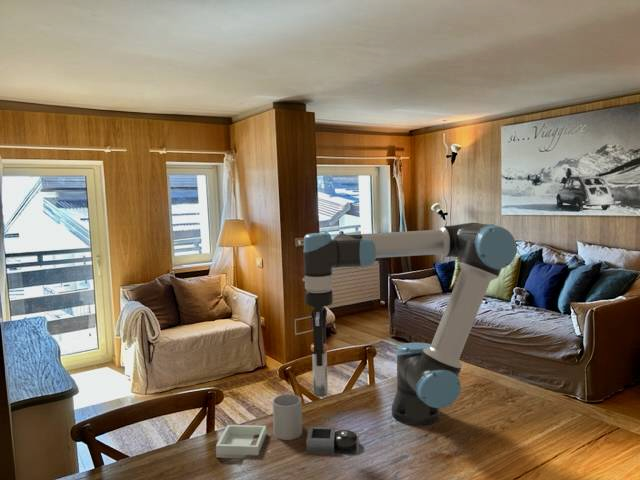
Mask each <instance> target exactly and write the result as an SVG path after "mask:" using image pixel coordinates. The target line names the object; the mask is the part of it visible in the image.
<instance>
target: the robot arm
mask: <svg viewBox="0 0 640 480" xmlns="http://www.w3.org/2000/svg"><path fill="white" fill-rule="evenodd" d="M302 251H303V252H302V253H303V271H304V277H303V278H302V281H303V282H304V289H305V292H304V303H305V305H307V306H309V307H312V308H313V309H312V310H311V311H312V312H311V322H312V324H311V325H312V333H313V334H312V335H313V336H312V338H313V340H312V343H314V351H313V352H312V351H311V355H312V354H314V356H315V377H325V353H324V343H326V344H327V345H328V346H329V342H327V333H326V332H327V330H326V329H327V326H326V325H327V314H328V310H327V308H326V307H327V306H328V307H329V306H331V305H333V302H334V300H333V297H334V296H333V291H332V289H333V271H332V270H333V268H353V267H355V268H356V267H362V268H363V267H367V266H373V265H374V264H375V263H376V259H380V258H397V257H398V258H399V257H413V256H415V257H416V256H430V255H431V256H432V255H440V256H441V257H442V258H457V259H458V261H457V263H458V265H459V268H460V271H459V274H458V275H457V279H456V282H455V284H454V286H453V288H452V292H451V294H450V296H449V299H448V302H447V304H446V306H445V309H444V312H443V314H442V317H441V319H440V321H439V324H438V326H437V329H436V331H435V334H434V337H433V339H432V342H431V343H426V342H406V343H401V344H400V345H399V346H398V347H397V348H396V349H397V350H396V392H395V394H394V398H393V401H392V403H391V415H392V417H393V418H394V419H395V420H396V421H398V422H399V423H403V424H406V425H409V426H429V425H431V424H432V425H433V424H435V423H437V422H438V421H439V420H440V418H441V416H440V415H441V412H440V411H441V408H445V407H447V406H450V405H452V404H453V403H454V402H455V401H456V400H457V399H458V398H459V396H460V394H461V390H462V385H461V381H460V379H459V378H460V377H459V375H460V372H461V370H462V367H463V366H462V362H461V361H460V357H461V355H462V352H463V350H464V348H465V346H466V342H467V340H468V337H469V336H470V333H471V331H472V327H473V325H474V322H475V319H476V317H477V315H478V313H479V310H480V308H481V305H482V302H483V301H484V298H485V295H486V293H487V290H488V288H489V285H490V283H491V281H493V280H495V279H498V278H499V276H500V273H501V271H502V269H504V268H506V267H509V266H510V265H511V264H512V262H513V261H514V260H515V258H516V255H517V242H516V240H515V238H514V235H513V234H512V232H510V231H509V230H508V229H506V228H505V227H502V226H499V225H495V224H488V223H481V222H467V223H461V224H453V225H441V226H439V228H438V229H428V230H413V231H412V230H410V231H408V230H407V231H392V232H375V233H374V232H373V233H372V232H371V233H360V234H358V233H357V234H346V233H339V234H335V235H334V236H333V237H332V235H331V234H330V233H328V232H313V233H307V234H305V235H304V238H303V250H302Z"/></svg>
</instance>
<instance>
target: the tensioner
mask: <svg viewBox="0 0 640 480" xmlns="http://www.w3.org/2000/svg"><path fill="white" fill-rule="evenodd" d="M359 443H360V436H359V435H357V434H356V432H354V431H353V430H349V429H342V430H336V427H335V426H308V431H307V436H306V441H305V444H306V451H307V452H306V454H324V455H326V454H327V455H328V454H329V455H353V456H354V455H355V456H357V455H360V453H359V452H360V451H359V450H360V444H359Z"/></svg>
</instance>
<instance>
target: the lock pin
mask: <svg viewBox="0 0 640 480" xmlns="http://www.w3.org/2000/svg"><path fill="white" fill-rule="evenodd" d="M328 346H329V344H328V345H327V344H326V343H324V353H325V377H315V356H314V354H312V352H313V351H314V342H312V343H311V344H310V351H311V358H312V359H311V360H312V361H311V362H312V386H313V387H312V390H313V391H312V392H313V396H315V397H319V398H321V397H326V396H328V394H329V391H328V386H329V385H328V359H327V358H328V356H327V355H328V354H327V353H328V352H327V351H328V350H329V349H328V348H329V347H328Z"/></svg>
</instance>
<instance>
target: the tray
mask: <svg viewBox="0 0 640 480" xmlns="http://www.w3.org/2000/svg"><path fill="white" fill-rule="evenodd" d="M255 436H259V437H258V438H257V441H256V444H252V442H253V440H254V437H255ZM266 436H267V425H250V424H249V425H245V424H242V425H241V424H227V425H226V427H225V429H224V431H223V432H222V434H221V436H220V438H219V439H218V441H217V442H216V445H215V453H216V454H215V456H216V458H220V459H221V458H222V459H223V458H224V459H225V458H226V459H245V458H246V456H259V454H260V451H261V449H262V446H263V444H264V441H265V439H266Z"/></svg>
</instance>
